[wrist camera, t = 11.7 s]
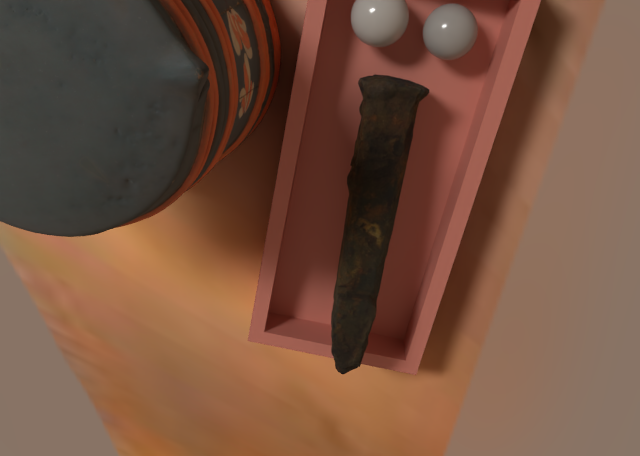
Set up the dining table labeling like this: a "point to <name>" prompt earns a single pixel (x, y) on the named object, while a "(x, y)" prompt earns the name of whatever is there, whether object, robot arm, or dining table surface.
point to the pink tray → (418, 185)
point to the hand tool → (371, 209)
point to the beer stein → (124, 104)
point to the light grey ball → (379, 21)
